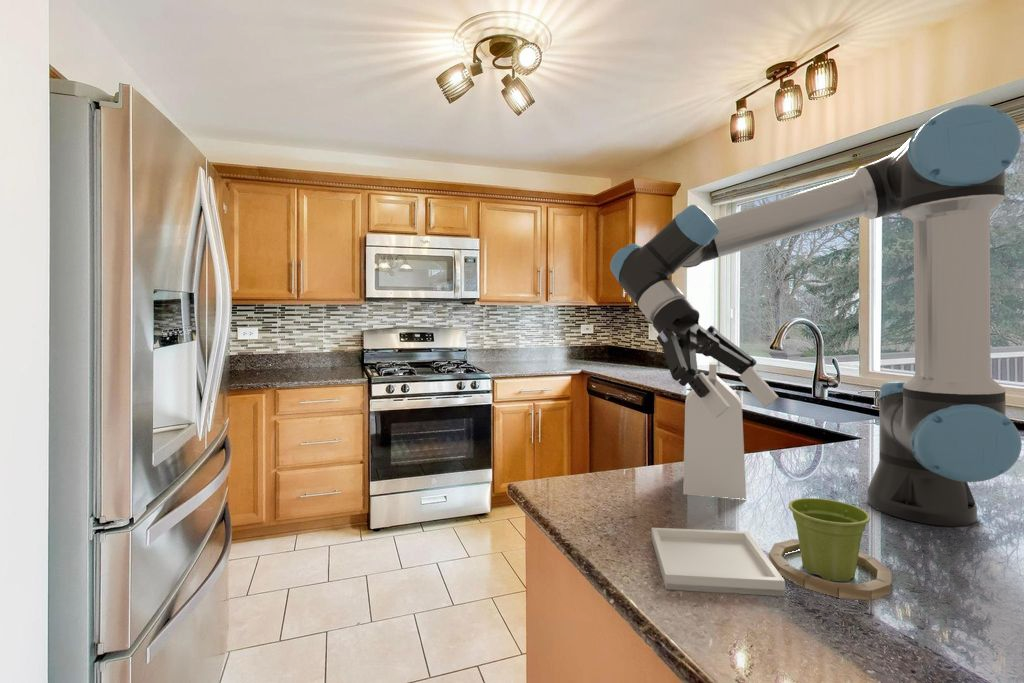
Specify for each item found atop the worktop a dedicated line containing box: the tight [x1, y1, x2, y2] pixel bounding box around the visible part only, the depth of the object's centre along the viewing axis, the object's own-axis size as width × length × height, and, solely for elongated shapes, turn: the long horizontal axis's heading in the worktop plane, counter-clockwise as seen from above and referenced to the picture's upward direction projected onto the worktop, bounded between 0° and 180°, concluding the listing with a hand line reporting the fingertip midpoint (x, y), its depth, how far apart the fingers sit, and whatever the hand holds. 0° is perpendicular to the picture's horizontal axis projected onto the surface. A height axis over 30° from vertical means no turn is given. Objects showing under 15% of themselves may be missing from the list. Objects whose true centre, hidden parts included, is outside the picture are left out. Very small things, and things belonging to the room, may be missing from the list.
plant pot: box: [788, 497, 871, 582], centre depth 68 cm, size 9×9×9 cm
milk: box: [682, 361, 747, 500], centre depth 102 cm, size 12×12×26 cm
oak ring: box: [768, 538, 893, 601], centre depth 68 cm, size 14×14×1 cm
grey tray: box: [651, 527, 786, 597], centre depth 71 cm, size 15×15×2 cm
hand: (748, 407), depth 76 cm, fingers open, 13 cm apart
